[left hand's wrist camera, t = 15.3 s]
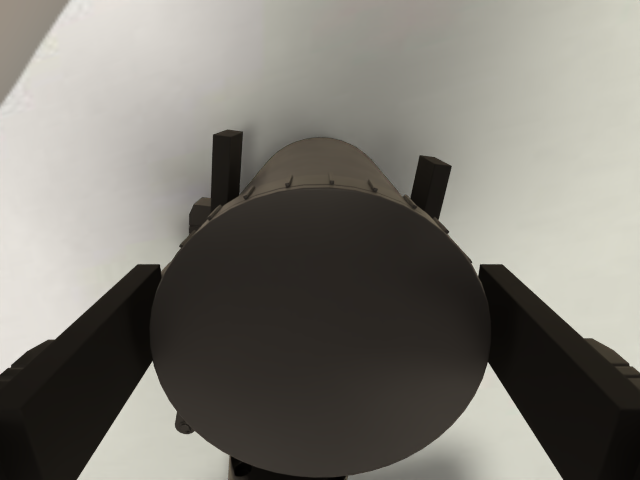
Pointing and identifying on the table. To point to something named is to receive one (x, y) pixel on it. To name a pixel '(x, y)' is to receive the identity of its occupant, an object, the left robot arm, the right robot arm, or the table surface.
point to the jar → (320, 163)
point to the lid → (320, 327)
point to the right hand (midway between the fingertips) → (332, 147)
